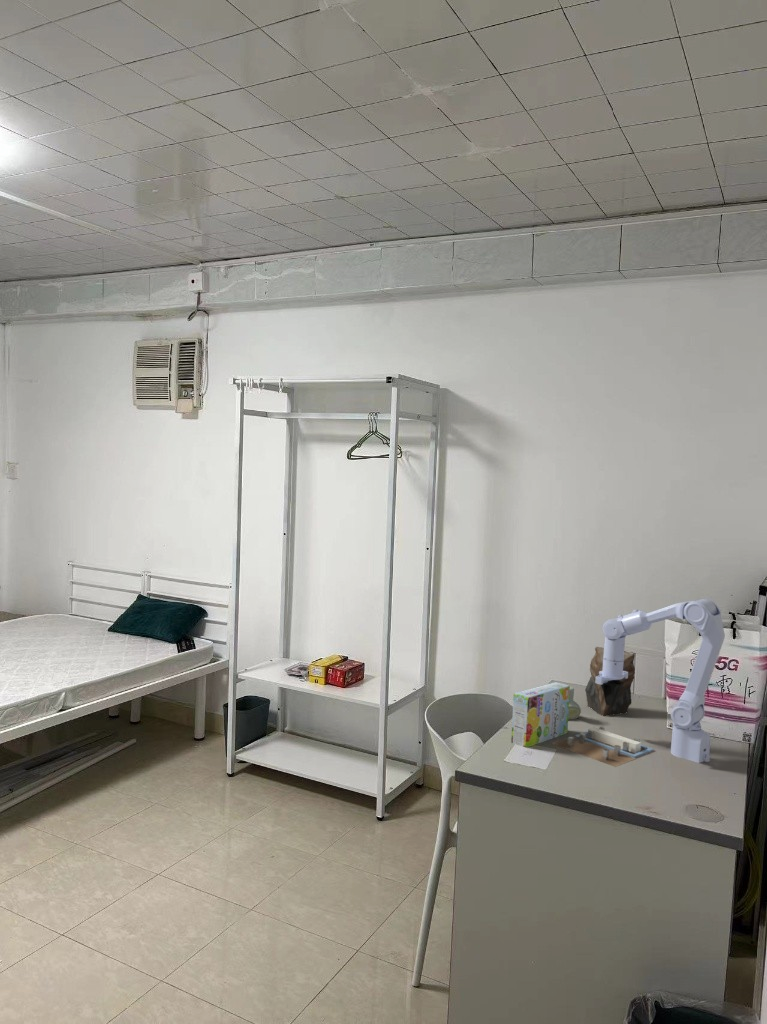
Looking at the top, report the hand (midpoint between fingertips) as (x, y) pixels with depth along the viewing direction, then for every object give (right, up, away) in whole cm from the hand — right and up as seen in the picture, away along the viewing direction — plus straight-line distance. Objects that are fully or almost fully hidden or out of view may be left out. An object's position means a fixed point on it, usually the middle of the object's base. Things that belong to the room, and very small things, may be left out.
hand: (610, 705), depth 222 cm
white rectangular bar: (-2, -9, -9) cm, 13 cm away
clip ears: (-6, -10, -12) cm, 16 cm away
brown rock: (+7, -9, +27) cm, 29 cm away
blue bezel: (-2, -9, -9) cm, 12 cm away
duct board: (-6, -10, -12) cm, 16 cm away
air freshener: (-10, -8, +16) cm, 21 cm away
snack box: (-22, -9, -7) cm, 25 cm away
